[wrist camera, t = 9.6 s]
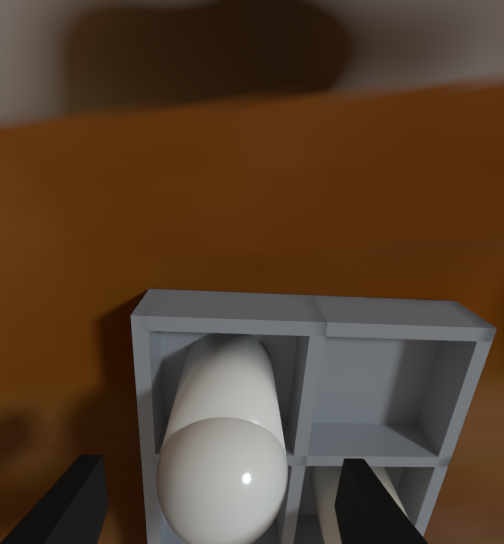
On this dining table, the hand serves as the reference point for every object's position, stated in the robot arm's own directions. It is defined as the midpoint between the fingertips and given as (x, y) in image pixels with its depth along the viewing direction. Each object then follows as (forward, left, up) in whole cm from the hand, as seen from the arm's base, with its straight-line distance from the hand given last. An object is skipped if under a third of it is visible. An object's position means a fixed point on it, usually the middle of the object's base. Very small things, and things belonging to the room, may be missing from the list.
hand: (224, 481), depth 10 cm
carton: (-7, -3, -6) cm, 9 cm away
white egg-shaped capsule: (0, 0, -5) cm, 5 cm away
